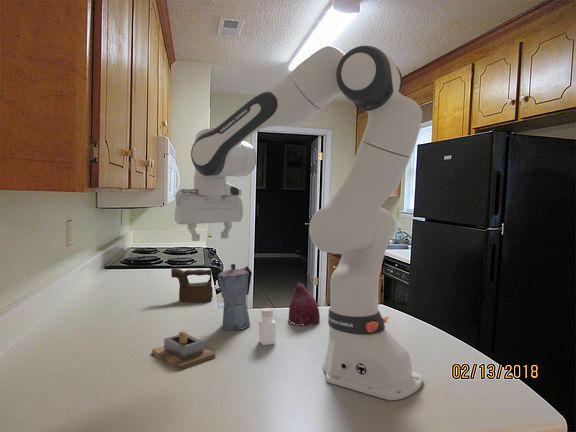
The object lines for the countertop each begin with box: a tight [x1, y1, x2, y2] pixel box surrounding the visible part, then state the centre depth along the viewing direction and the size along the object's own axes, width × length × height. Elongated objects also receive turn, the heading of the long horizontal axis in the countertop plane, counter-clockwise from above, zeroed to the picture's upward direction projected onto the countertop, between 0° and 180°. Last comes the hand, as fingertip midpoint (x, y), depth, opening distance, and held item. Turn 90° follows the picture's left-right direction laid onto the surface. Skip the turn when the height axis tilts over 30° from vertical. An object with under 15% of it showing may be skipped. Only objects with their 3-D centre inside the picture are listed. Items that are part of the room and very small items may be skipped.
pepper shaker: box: [258, 307, 277, 346], centre depth 106 cm, size 4×4×10 cm
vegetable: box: [288, 281, 321, 326], centre depth 125 cm, size 10×10×15 cm
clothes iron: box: [170, 267, 214, 303], centre depth 152 cm, size 8×16×13 cm, turn 102°
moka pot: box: [218, 263, 252, 331], centre depth 121 cm, size 10×15×20 cm, turn 152°
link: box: [163, 333, 204, 360], centre depth 98 cm, size 9×6×3 cm, turn 45°
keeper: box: [151, 330, 216, 371], centre depth 98 cm, size 14×10×6 cm
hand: (210, 239), depth 105 cm, fingers open, 8 cm apart
